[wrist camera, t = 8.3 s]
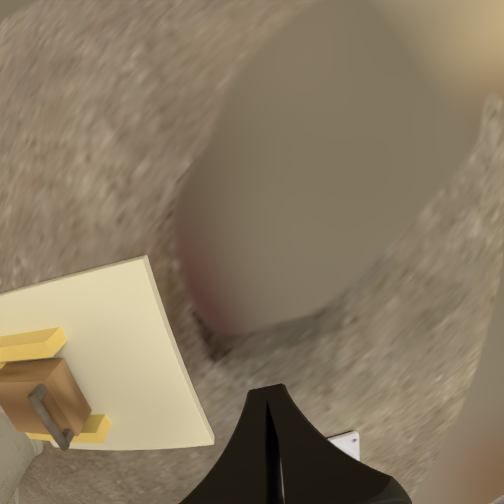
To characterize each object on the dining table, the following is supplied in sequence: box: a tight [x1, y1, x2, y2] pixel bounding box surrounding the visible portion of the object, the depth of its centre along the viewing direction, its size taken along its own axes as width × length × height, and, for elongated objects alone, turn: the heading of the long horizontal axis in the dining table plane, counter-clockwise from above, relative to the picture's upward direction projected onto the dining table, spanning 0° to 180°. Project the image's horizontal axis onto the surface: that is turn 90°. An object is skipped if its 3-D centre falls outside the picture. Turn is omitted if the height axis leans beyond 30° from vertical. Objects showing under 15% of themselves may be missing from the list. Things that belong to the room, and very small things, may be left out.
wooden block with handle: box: [0, 358, 92, 450], centre depth 18 cm, size 5×7×6 cm
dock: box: [0, 255, 214, 450], centre depth 20 cm, size 16×17×3 cm
